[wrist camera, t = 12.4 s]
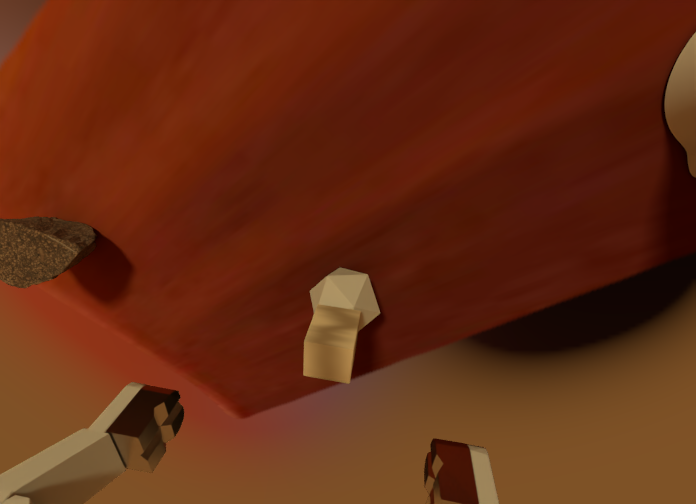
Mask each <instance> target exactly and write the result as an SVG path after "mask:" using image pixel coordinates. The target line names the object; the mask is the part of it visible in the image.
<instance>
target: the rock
mask: <svg viewBox="0 0 696 504" xmlns="http://www.w3.org/2000/svg"><path fill="white" fill-rule="evenodd" d="M96 237H97V236H96V234H95V233H94V232H93V229H92V228H91V227H90V226H89V225H86V224H83V223H79V222H71V221H64V220H62V219H56V217H52V218H48V217H31V218H25V219H0V279H1V280H2V281H3V282H5V283H7V284H8V285H11V286H16V287H19V288H27V287H29V286H31V285H33V284H36V285H37V284H39V283H41V282H45V281H49V280H52V279H54V278H56V277H57V276H58V275H59V274H61V273H63V272H65V271H66V270H68V269H69V268H71V267H73V266H74V265H76V264H78V263H79V262H80V261H81V260H82V259H83V258H85V257H86V256H88V255H89V254H90V252H92V251H94V249H95V247H96V243H95V239H96Z"/></svg>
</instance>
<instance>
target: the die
mask: <svg viewBox="0 0 696 504" xmlns="http://www.w3.org/2000/svg"><path fill="white" fill-rule="evenodd" d="M310 295H311V300H312V305H313V310H314V313H315V310H316V308H317V305H318V304H320V305H326V306H333V307H339V308H345V309H352V310H358V311H361V313H360V321H359V329H358V331H360V330H361V329H362V328H363V327H364V326H366V325H367V324H368V323H369V322H370V321H372V320H373V319H374V318H375V317H376V316H378V315H379V314H380V310H379V307H378V304H377V301H376V298H375V295H374V292H373V289H372V286H371V283H370V280H369V277H368V274H364V273H360V272H356V271H352V270H348V269H344V268H338V269H337V270H335V271H334V272H332V273H331V274H329V275H328V276H326V277H325V278H324V279H323V280H322V281H321V282H319V283H318V284H317V285H316V286H315V287H314V288H313V289H311V290H310Z"/></svg>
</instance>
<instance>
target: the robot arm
mask: <svg viewBox="0 0 696 504" xmlns="http://www.w3.org/2000/svg"><path fill="white" fill-rule="evenodd" d="M665 116H666V120H667V123H668V126H669V128H670V130H671V132H672V134H673V135H674V137H675V138H676V139H677V140H678V141H679V142H680V144H681V145H682V146H683V147H684V148H685V150H686V152H687V159H688V166H689V171H690V173H691V175H692V176H693V177H695V178H696V32H695V34H694V35H693V36H692V37H691V39H690V40H689V42H688V43H687V44H686V46H685V47H684V49H683V51H682V52H681V54H680V56H679V57H678V59H677V61H676V63H675V65H674V68H673V70H672V72H671V75H670V78H669V81H668V84H667V89H666V94H665ZM179 399H180V395H179V391H176V390H170V389H165V388H160V387H155V386H150V385H146V384H140V383H135V382H132V383H130V384H129V385H127V386H126V387H125V388H124V389H123V390H122V391H121V392H120V393H119V394H118V396H117V397H116V398H115V399H114V400H113V401H112V402H111V404H110V405H109V406H108V407H107V408H106V409H105V410H104V411H103V413H102V414H101V415H100V416H99V417H98V418H97V419H96V421H95V422H94V423H93V424H92V425H91V426H90V427H89V428H88V429H86V428H83V429H81V430H80V431H78V432H76V433H74V434H72V435H71V436H69V437H67V438H65V439H64V440H62V441H60V442H58V443H56V444H54V445H53V446H51V447H49V448H47V449H45V450H44V451H42V452H40V453H38V454H37V455H35V456H33V457H31V458H29V459H28V460H26V461H24V462H22V463H20V464H19V465H17V466H15V467H13V468H11V469H10V470H8V471H6V472H4V473H3V474H1V475H0V504H84V503H85V502H86V501H88V500H89V499H90V498H91V497H93V496H94V495H95V494H96V493H98V492H99V491H100V490H102V489H103V488H104V487H105V486H106V485H108V484H109V483H110V482H112V481H113V480H114V479H115V478H117V477H118V476H119V475H120V474H122V473H123V472H124V471H126V469H125V468H127V469H132V470H138V471H144V472H149V473H153V471H154V469H155V468H156V466H157V465H158V463H159V462H160V460H161V458H162V457H163V455H164V454H165V452H166V443H167V442H168V441H170V440H171V439H173V438H174V437H175V436H176V434H177V433H178V431H179V429H180V427H181V424H182V422H183V419H184V409H183V406H182V405H181V404H180V403H179V402H178V401H179ZM424 482H425V488H426V490H427V492H428V493H429V496H428V499H427V502H426V504H499V501H498V496H497V492H496V487H495V483H494V478H493V474H492V469H491V465H490V460H489V456H488V452H487V450H486V449H485V448H484V447H479V446H473V445H468V444H464V443H458V442H452V441H446V440H440V439H433V440H432V442H431V452H429V453H428V454H427V457H426V461H425V469H424Z"/></svg>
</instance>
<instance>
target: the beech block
mask: <svg viewBox="0 0 696 504" xmlns="http://www.w3.org/2000/svg"><path fill="white" fill-rule="evenodd" d="M360 313H361V311H358V310H352V309H345V308H339V307H333V306H326V305H320V304H318V305H317V308H316V310H315V313H314V316H313V319H312V321H311V324H310V327H309V330H308V332H307V335H306V338H305V340H304V376H309V377H315V378H320V379H326V380H332V381H337V382H343V383H348V384H350V379H351V373H352V367H353V361H354V356H355V350H356V344H357V337H358V329H359V321H360Z"/></svg>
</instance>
